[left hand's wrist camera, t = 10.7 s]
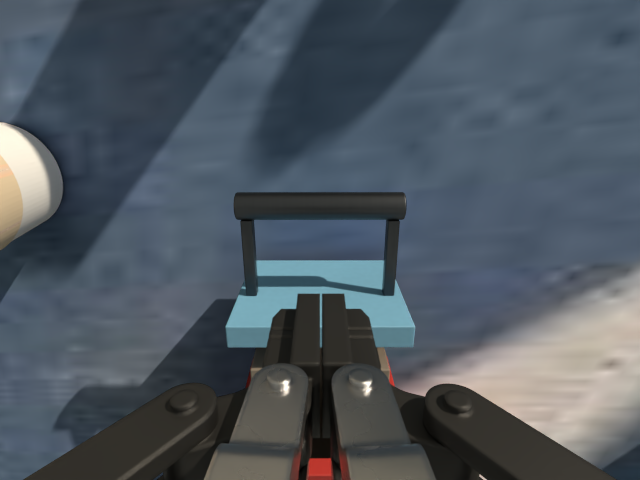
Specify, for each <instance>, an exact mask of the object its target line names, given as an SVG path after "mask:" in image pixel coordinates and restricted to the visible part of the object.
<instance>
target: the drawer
mask: <svg viewBox="0 0 640 480" xmlns="http://www.w3.org/2000/svg"><path fill="white" fill-rule="evenodd" d="M234 214H235V217H236V219H237V220H241V235H242V248H243V262H244V275H245V280H244V283H243V285H242V288H241V290H240V293H239V295H238V297H237V300H236V302H235V305H234V307H233V310H232V312H231V315H230V317H229V319H228V322H227V324H226V327H225V329H226V339H227V347H228V348H256V350H255V354H254V358H253V362H252V366H251V370H250V372H251V379H252V377H253V376H254V375H255V374H256V373H257V372H258V371H259V370H260V369H262V365H263V361H264V356H265V351H266V347H267V342H268V339H269V332H270V328H271V323H272V318H273V317H274V316H275V315H276V314H277V313H278V312H279V311H280V309H296V304H297V295H298V294H320V438H312V454H311V457H310V458H331V442H330V438H323V437H322V294H344V296H345V304H346V309H362V310H363V312H364V313H365V314H366V315H367V316H368V317H369V318H370V323H371V327H372V332H373V336H374V341H375V345H376V350H377V354H378V359H379V363H380V368H381V371H382V372H383V373H384V374H385V375H386V376H387V377H388V379H389V377H390V368H389V364H388V360H387V357H386V353H385V349H384V347H413V343H414V333H415V326H414V323H413V321H412V318H411V316H410V313H409V311H408V309H407V306H406V304H405V301H404V299H403V297H402V294H401V292H400V289H399V287H398V284H397V282H396V280H395V278H396V264H397V251H398V237H399V224H400V221H399V220H402V219H404V218H405V214H406V196H405V194H404V193H403V192H238V193H236V194H235V197H234ZM254 220H386V234H385V250H384V260H289V261H256V246H255V230H254Z"/></svg>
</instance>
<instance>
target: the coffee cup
mask: <svg viewBox="0 0 640 480" xmlns="http://www.w3.org/2000/svg"><path fill="white" fill-rule="evenodd" d="M62 195H63V181H62V176H61V172H60V169H59V167H58V164H57V162H56V160H55V159H54V157H53V155H52V154H51V153H50V151H49V150H48V149H47V148H46V146H45V145H44V144H43V143H42V142H41V141H39V140H38V139H37V138H36V137H35V136H33V135H32V134H30V133H29V132H27V131H25V130H23V129H21V128H19V127H17V126H14V125H11V124H7V123H1V122H0V250H2V249H3V248H5V247H6V246H7V245H8V244H9V243H10V242H11V241H13V240H15V239H16V238H18V237H20V236H21V235H23V234H25V233H26V232H28V231H30V230H31V229H33V228H35V227H36V226H38V225H40V224H41V223H43V222H45V221H46V220H48V219H49V218H50V217H51V216H52V215H53V214H54V213H55V212H56V210H57V209H58V207H59V205H60V202H61V199H62Z"/></svg>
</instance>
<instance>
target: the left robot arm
mask: <svg viewBox="0 0 640 480" xmlns="http://www.w3.org/2000/svg"><path fill="white" fill-rule="evenodd" d="M322 437H323V438H330V442H331V476H332V480H483V479H482V478H480V477H479V474H481V475H482V476H483V477H484V478H486V479H487V480H616V479H615V478H613V477H612V476H610V475H608V474H607V473H605V472H604V471H602V470H600V469H599V468H597V467H595V466H594V465H592V464H591V463H589V462H587V461H586V460H584V459H583V458H581V457H579V456H578V455H576V454H574V453H573V452H571V451H570V450H568V449H566V448H565V447H563V446H562V445H560V444H558V443H557V442H555V441H553V440H552V439H550V438H549V437H547V436H545V435H544V434H542V433H541V432H539V431H537V430H536V429H534V428H532V427H531V426H529V425H528V424H526V423H524V422H523V421H521V420H520V419H518V418H516V417H515V416H513V415H511V414H510V413H508V412H507V411H505V410H503V409H502V408H500V407H499V406H497V405H495V404H494V403H492V402H490V401H489V400H487V399H486V398H484V397H482V396H481V395H479V394H477V393H476V392H474V391H472V390H471V389H468V388H466V387H463V386H460V385H456V384H440V385H437V386H434V387H432V388H431V389H430V390H428V392H427V393H426V396H425V397H424V396H420V395H415V394H411V393H408V392H405V391H402V390H400V389H398V388H396V387H394V386H393V385H391V384H390V382H389V379H388V377H387V376H386V375H385V374H384V373H383V372H382V371H381V368H380V363H379V359H378V354H377V350H376V345H375V341H374V336H373V332H372V327H371V323H370V318H369V317H368V316H367V315H366V314H365V313H364V312H363V310H362V309H346V304H345V296H344V294H322ZM312 438H320V294H298V295H297V304H296V309H280V311H279V312H278V313H277V314H276V315H275V316H274V317H273V318H272V323H271V328H270V332H269V339H268V342H267V347H266V351H265V356H264V361H263V365H262V369H260V370H259V371H258V372H257V373H256V374H255V375H254V376H253V377H252V379H251V382H250V385H249V387H247V388H245V389H243V390H241V391H239V392H235V393H232V394H228V395H224V396H220V397H216V394H215V392H214V390H213V389H212V388H211V387H209V386H207V385H205V384H201V383H186V384H182V385H178V386H176V387H173V388H171V389H169V390H167V391H166V392H164V393H163V394H161V395H159V396H158V397H156V398H154V399H153V400H151V401H150V402H148V403H146V404H145V405H143V406H142V407H140V408H138V409H137V410H135V411H133V412H132V413H130V414H129V415H127V416H125V417H124V418H122V419H121V420H119V421H117V422H116V423H114V424H112V425H111V426H109V427H108V428H106V429H104V430H103V431H101V432H100V433H98V434H96V435H95V436H93V437H91V438H90V439H88V440H87V441H85V442H83V443H82V444H80V445H79V446H77V447H75V448H74V449H72V450H70V451H69V452H67V453H66V454H64V455H62V456H61V457H59V458H58V459H56V460H54V461H53V462H51V463H49V464H48V465H46V466H45V467H43V468H41V469H40V470H38V471H37V472H35V473H33V474H32V475H30V476H28V477H27V478H25V479H24V480H153V479H154V478H156V477H157V476H158V475H160V474H161V473H162V472H163V475H162V476H161V477H160V478H158V479H157V480H308V476H309V460H310V457H311V454H312Z"/></svg>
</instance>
